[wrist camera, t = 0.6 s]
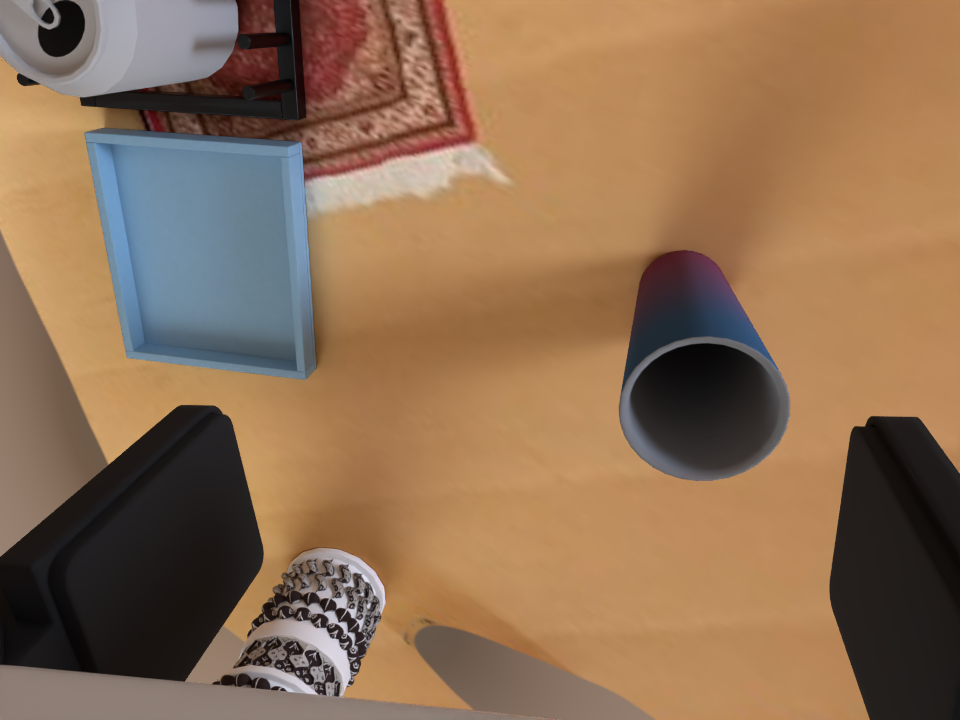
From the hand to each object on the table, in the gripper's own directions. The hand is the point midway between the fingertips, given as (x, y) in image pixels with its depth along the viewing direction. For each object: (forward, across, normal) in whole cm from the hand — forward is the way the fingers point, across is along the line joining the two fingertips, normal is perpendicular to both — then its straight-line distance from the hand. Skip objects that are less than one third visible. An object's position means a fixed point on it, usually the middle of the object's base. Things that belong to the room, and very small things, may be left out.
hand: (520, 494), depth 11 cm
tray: (+34, +25, +5) cm, 42 cm away
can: (+34, +24, -9) cm, 42 cm away
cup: (+34, -5, +8) cm, 35 cm away
